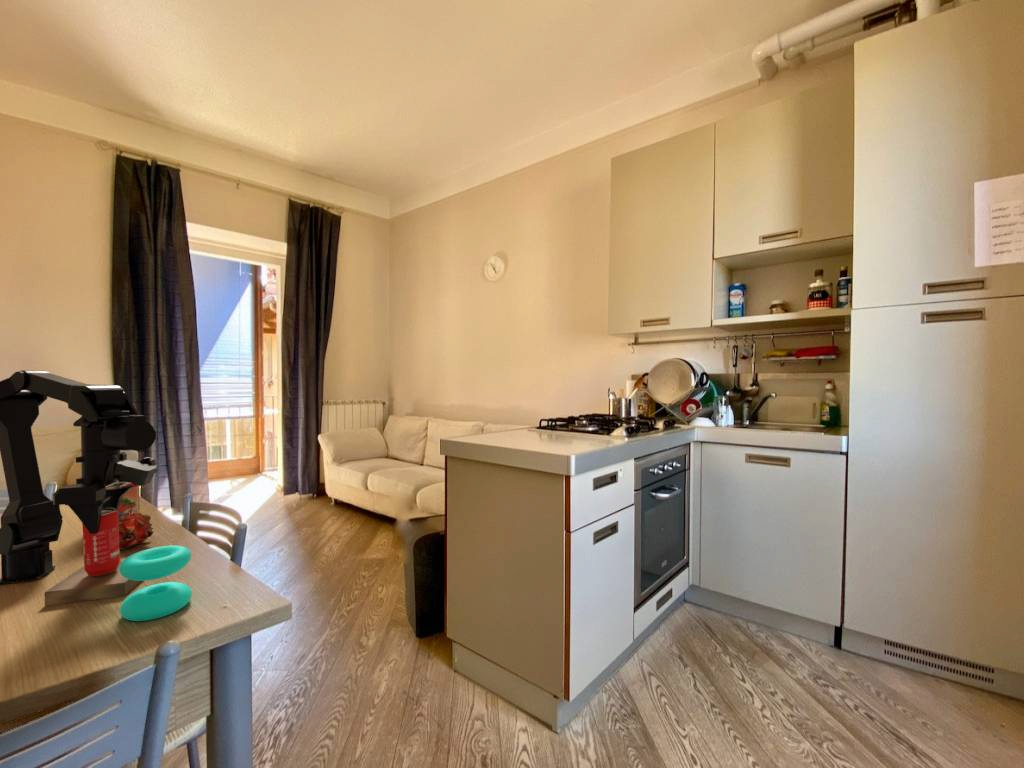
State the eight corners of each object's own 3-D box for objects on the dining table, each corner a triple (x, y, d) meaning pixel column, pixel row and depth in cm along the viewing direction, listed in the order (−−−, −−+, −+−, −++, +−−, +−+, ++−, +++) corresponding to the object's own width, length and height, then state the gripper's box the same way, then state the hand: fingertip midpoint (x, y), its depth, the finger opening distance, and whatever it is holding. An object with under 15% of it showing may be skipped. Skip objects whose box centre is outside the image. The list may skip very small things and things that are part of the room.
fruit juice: (147, 519, 135) (145, 423, 134) (128, 529, 126) (126, 427, 125) (109, 521, 133) (107, 424, 132) (87, 532, 123) (85, 428, 123)
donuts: (183, 558, 79) (109, 568, 75) (184, 616, 79) (110, 630, 75) (196, 540, 88) (130, 548, 84) (197, 592, 88) (131, 602, 84)
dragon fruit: (137, 543, 119) (133, 564, 110) (100, 530, 115) (93, 551, 105) (160, 514, 121) (158, 533, 112) (126, 500, 117) (121, 518, 107)
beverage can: (99, 578, 88) (97, 517, 87) (77, 576, 89) (74, 515, 88) (126, 566, 93) (124, 508, 92) (105, 564, 94) (103, 506, 93)
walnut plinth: (44, 605, 83) (44, 592, 83) (83, 578, 94) (83, 566, 94) (125, 595, 86) (125, 582, 86) (153, 570, 98) (153, 558, 98)
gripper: (127, 454, 84) (128, 540, 84) (169, 441, 101) (170, 511, 102) (50, 458, 80) (51, 547, 80) (107, 443, 98) (108, 516, 98)
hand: (102, 528), depth 90 cm, fingers open, 5 cm apart
